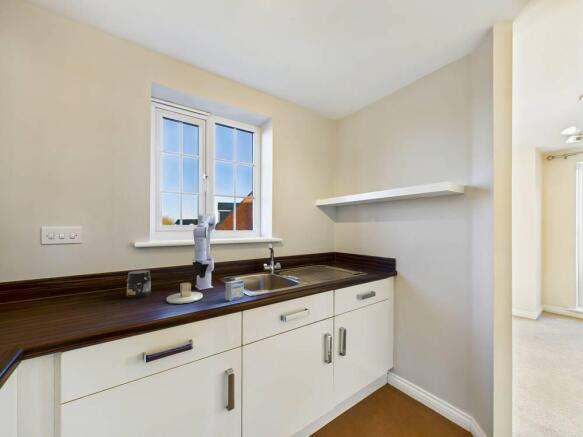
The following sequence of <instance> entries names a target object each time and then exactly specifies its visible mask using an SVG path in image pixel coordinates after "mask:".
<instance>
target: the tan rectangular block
mask: <svg viewBox="0 0 583 437" xmlns="http://www.w3.org/2000/svg"><path fill="white" fill-rule="evenodd" d="M191 292H192V283H191V282H182V283H180V292H179V293H180V296H181V297H182V298H185V297H191Z"/></svg>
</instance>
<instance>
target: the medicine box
mask: <svg viewBox="0 0 583 437" xmlns="http://www.w3.org/2000/svg"><path fill="white" fill-rule="evenodd" d="M244 282H245V280H243V279H236V280H231V281H226V282H225V301H227V300H229V301H228V302H231V301H232V302H234V301H233V300H235V301H237V300H236V299H238V300H240V299H239V298H242V299H244V298H243V297H244V296H245V294H244V293H245V292H244V291H245V290H244V288H245V286H244V285H245V283H244Z"/></svg>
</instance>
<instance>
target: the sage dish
mask: <svg viewBox="0 0 583 437" xmlns="http://www.w3.org/2000/svg"><path fill="white" fill-rule="evenodd" d="M203 296H204V295H203V293H202V292H198V291H191V297H185V298H182V297H181V296H180V292H179V293H173V294H171V295H168V296H167V297H166V302H167V303H169V304H187V303H188V304H189V303H192V302H197V301H199V300H201V299H203Z"/></svg>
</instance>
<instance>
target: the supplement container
mask: <svg viewBox="0 0 583 437" xmlns="http://www.w3.org/2000/svg"><path fill="white" fill-rule="evenodd" d="M150 275H151V271H150V270H145V269H144V270H143V269H141V270H134V271H130V272H128V274H127V277H128V278H127V279H126V297H128V298H129V299H130V298H131V299H137V298H138V299H139V298H144V297H146V296H149V295H151V292H152V288H151V286H152V284H151V283H152V282H151V281H152V280H151V279H152V276H150Z"/></svg>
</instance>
